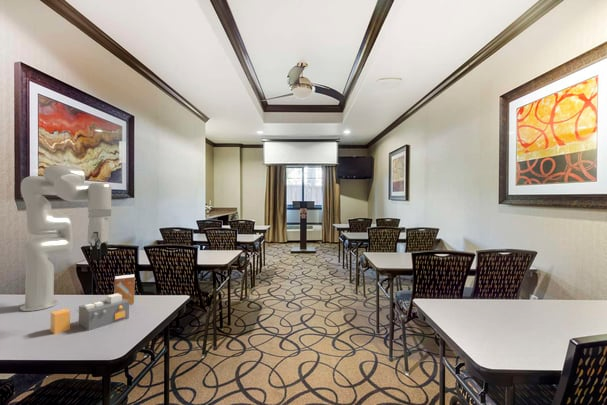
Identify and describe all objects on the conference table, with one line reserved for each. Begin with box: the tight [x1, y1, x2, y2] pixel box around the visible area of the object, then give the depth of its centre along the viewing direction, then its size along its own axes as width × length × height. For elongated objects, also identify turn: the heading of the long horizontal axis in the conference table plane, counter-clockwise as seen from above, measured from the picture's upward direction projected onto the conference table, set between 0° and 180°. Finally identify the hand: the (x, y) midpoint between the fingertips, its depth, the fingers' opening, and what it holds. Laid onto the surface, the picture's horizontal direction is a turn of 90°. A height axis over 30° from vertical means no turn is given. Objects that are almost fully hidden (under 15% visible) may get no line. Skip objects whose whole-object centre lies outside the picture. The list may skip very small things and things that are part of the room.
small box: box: [113, 274, 136, 305], centre depth 133 cm, size 8×6×13 cm
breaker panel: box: [78, 299, 130, 331], centre depth 113 cm, size 11×14×8 cm
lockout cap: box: [50, 308, 71, 335], centre depth 105 cm, size 4×4×7 cm
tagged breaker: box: [106, 293, 122, 304], centre depth 116 cm, size 4×4×6 cm
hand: (99, 257), depth 110 cm, fingers open, 9 cm apart
